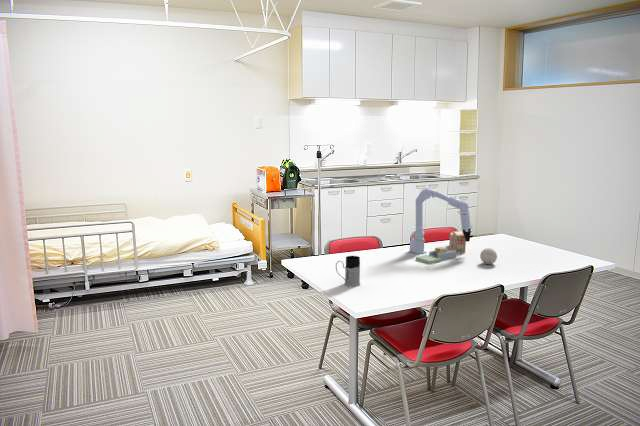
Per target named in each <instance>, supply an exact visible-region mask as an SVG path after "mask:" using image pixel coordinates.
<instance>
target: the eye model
mask: <svg viewBox="0 0 640 426" xmlns="http://www.w3.org/2000/svg"><path fill="white" fill-rule="evenodd" d="M479 258H480V260H481V262H482V263H483V264H485V265H492V264H495V263H496V261H497V259H498V255H497V252H496V250H494V249H493V248H489V247H487V248H484V249H483V250H481V251H480V254H479Z"/></svg>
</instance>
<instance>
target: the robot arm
mask: <svg viewBox="0 0 640 426" xmlns="http://www.w3.org/2000/svg"><path fill="white" fill-rule="evenodd" d="M431 197H432V199H433V198H438V199H441V200H443V201H445V202H447V203H448V205H449V206H451V207H454V208H455V209H459V210H460V211H459V212H460V214H459V215H460V216H459V217H460V224H461V230H462V233H463V234H464V236H465V239H466V243H467V242H470V240H471V233H472V231H471V229H472V228H473V227H474V226H473V225H471V218H470V213H469V212H470V211H469V208H470V206H469V203H468V202H466V201H465V200H463V199H459V198H457V196H448V195H446V194H444V193H442V192H440V191H438V190H436V189H434V188H431V187H425V188H423V189H422V190H421V191H420V193H419V194H418V195H417V197H416V198H415V232H414V234H413V237H412V238H411V239H410V242H409V250H408V252H410V253H413V254H418V255H422V254H425V253H427V251H425V238H424V237H425V231H424V225H423V221H424V220H423V216H424V215H423V213H424V211H423V208H424V207H423V206H424V204H423V203H424V202H425V201H427V200H428V199H430V198H431Z"/></svg>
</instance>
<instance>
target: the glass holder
mask: <svg viewBox="0 0 640 426" xmlns="http://www.w3.org/2000/svg"><path fill="white" fill-rule="evenodd" d="M340 262H341V264H342V267H343V269H345V270H344V271H345V274H344V275H345V276H344V277H343V276H342V275H341V274H340V273H339V271H338V268H337V264H338V263H340ZM344 266H345V267H344ZM335 271H336V273H337V274H338V276H339V277H341V278H342V279H343V280H344V285H345V286H346V287H349V288H350V287H351V288H352V287H354V288H355V287H360V286H361V281H360V280H361V279H360V278H361V258H360V256H357V255H348V256H346V257H345V265H344V262H343V261H342V260H338V261H336V263H335Z"/></svg>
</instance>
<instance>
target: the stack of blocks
mask: <svg viewBox="0 0 640 426" xmlns="http://www.w3.org/2000/svg"><path fill="white" fill-rule="evenodd" d="M462 231H463V230H462ZM462 231H459V230H458V231H452V232H450V233H449V242H448V243H449V246H450V248H451V249H452V250H453V251H455V250H456V253H457V252H459V253H460V252H463V253H466V246H467V245H466V244H467V242H466V239H465V236H464V234H463V233H462ZM460 254H461V253H460Z"/></svg>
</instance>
